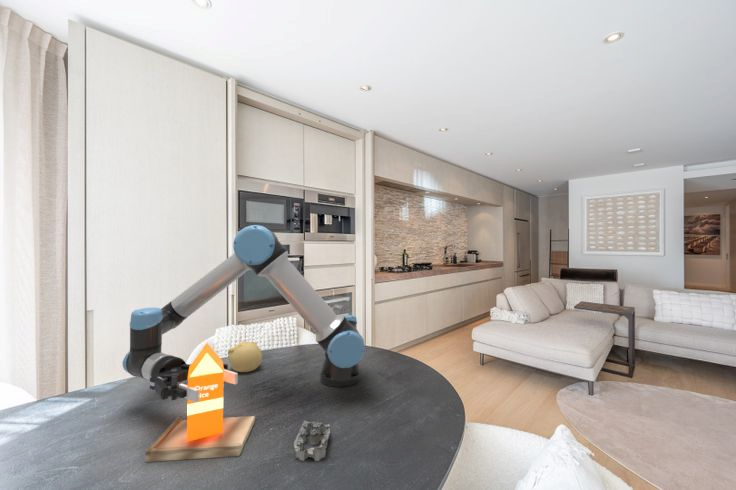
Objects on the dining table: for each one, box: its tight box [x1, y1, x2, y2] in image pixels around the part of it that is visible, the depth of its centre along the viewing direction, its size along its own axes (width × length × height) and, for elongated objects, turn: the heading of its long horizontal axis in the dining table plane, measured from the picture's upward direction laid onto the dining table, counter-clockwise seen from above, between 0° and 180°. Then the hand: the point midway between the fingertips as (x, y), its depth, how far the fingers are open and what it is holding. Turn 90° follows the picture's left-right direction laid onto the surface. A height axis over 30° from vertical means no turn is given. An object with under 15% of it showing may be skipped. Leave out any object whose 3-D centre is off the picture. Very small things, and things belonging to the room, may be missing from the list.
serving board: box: [145, 415, 256, 463], centre depth 76 cm, size 20×14×2 cm
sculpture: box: [227, 341, 263, 373], centre depth 120 cm, size 11×12×11 cm
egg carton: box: [293, 420, 331, 462], centre depth 73 cm, size 11×8×4 cm
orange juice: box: [186, 342, 224, 442], centre depth 76 cm, size 8×9×20 cm
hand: (218, 386), depth 74 cm, fingers closed on orange juice, 10 cm apart
